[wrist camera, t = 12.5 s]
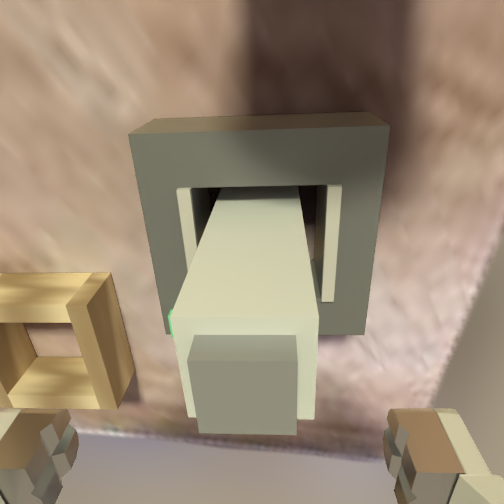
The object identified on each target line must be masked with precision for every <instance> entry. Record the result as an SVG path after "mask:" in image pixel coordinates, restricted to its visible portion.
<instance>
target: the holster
mask: <svg viewBox="0 0 504 504" xmlns="http://www.w3.org/2000/svg"><path fill="white" fill-rule="evenodd" d="M23 323H71V324H72V327H73V330H74V333H75V336H76V339H77V342H78V345H79V348H80V351H81V354H82V357H37V356H36V353H35V351H34V348H33V346H32V343H31V341H30V339H29V336H28V334H27V331H26V329H25V326H24V324H23ZM134 371H135V367H134V363H133V359H132V355H131V351H130V347H129V343H128V339H127V336H126V332H125V328H124V324H123V320H122V316H121V312H120V308H119V304H118V300H117V296H116V292H115V288H114V284H113V280H112V276H111V273H8V274H0V407H10V408H65V409H118V408H119V406H120V403H121V401H122V399H123V396H124V394H125V392H126V390H127V387H128V385H129V383H130V381H131V378H132V376H133V374H134Z"/></svg>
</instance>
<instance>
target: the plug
mask: <svg viewBox="0 0 504 504" xmlns="http://www.w3.org/2000/svg"><path fill="white" fill-rule="evenodd" d="M170 321H171V326H172V332H173V337H174V343H175V348H176V353H177V359H178V364H179V370H180V375H181V380H182V386H183V391H184V397H185V402H186V408H187V413H188V417H196V418H197V424H198V430H199V433H211V434H261V435H297V419H314V412H315V391H316V369H317V348H318V327H319V314H318V308H317V302H316V296H315V290H314V283H313V277H312V271H311V265H310V259H309V252H308V246H307V240H306V234H305V228H304V221H303V215H302V209H301V203H300V197H299V191H298V185H293V186H248V187H221V190H220V192H219V195H218V197H217V200H216V202H215V205H214V207H213V210H212V212H211V215H210V218H209V220H208V223H207V225H206V228H205V230H204V233H203V235H202V238H201V240H200V243H199V245H198V248H197V250H196V253H195V255H194V258H193V260H192V263H191V265H190V268H189V270H188V273H187V276H186V278H185V281H184V283H183V286H182V288H181V291H180V293H179V296H178V298H177V301H176V303H175V306H174V308H173V311H172V313H171V316H170Z"/></svg>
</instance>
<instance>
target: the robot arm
mask: <svg viewBox="0 0 504 504" xmlns="http://www.w3.org/2000/svg"><path fill="white" fill-rule="evenodd" d="M70 420H71V416H70V414H69V412H68V410H67V409H38V408H6V409H4V410H3V411H1V412H0V504H55V502H56V500H57V498H58V496H59V494H60V492H61V490H62V488H63V487H62V481H61V477H62V476H64V475H65V474H66V473H67V472H68V471H69V470H70V469H71V468H72V466H73V463H74V461H75V459H76V456H77V450H78V446H79V441H78V434H77V432H76V429H74V428H73V427H71V426H70V425H69V422H70ZM387 420H388V424H389V428H387V429H386V430H385V431H384V438H383V446H384V455H385V461H386V464H387V468H388V471H389V472H390V473H391V474H392V476H393V477H395V478H396V484H395V489H394V492H395V495H396V498H397V502H398V504H504V479H503V478H502V477H501V476H499V475H492V474H491V472H490V470H489V469H488V467H487V465H486V463H485V461H484V459H483V458H482V456H481V454H480V452H479V450H478V448H477V446H476V445H475V443H474V441H473V439H472V437H471V435H470V434H469V432H468V430H467V428H466V426H465V424H464V423H463V421H462V419H461V417H460V415H459V413H458V412H457V411H456V410H455V409H431V408H408V409H390V410H389V412H388V416H387Z"/></svg>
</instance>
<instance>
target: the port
mask: <svg viewBox="0 0 504 504" xmlns="http://www.w3.org/2000/svg"><path fill="white" fill-rule="evenodd" d="M390 127H391V125H389V124H387V123H386V122H384V121H383V120H381V119H380V118H378V117H377V116H375V115H374V114H372V113H371V112H369V111H366V112H338V113H309V114H281V115H253V116H224V117H196V118H167V119H154V120H152V121H150V122H149V123H147V124H145V125H143V126H142V127H140V128H138V129H136V130H135V131H133V132H131V133H129V134H128V136H129V141H130V147H131V152H132V157H133V163H134V168H135V173H136V178H137V184H138V189H139V194H140V199H141V205H142V210H143V215H144V220H145V226H146V231H147V236H148V241H149V247H150V252H151V257H152V263H153V268H154V273H155V278H156V284H157V289H158V294H159V299H160V305H161V310H162V315H163V320H164V326H165V331H166V334H171V337H173V332H172V326H171V321H170V316H171V313H172V311H173V308H174V306H175V303H176V301H177V298H178V296H179V293H180V291H181V288H182V286H183V283H184V281H185V278H186V276H187V273H188V270H189V268H190V265H191V263H192V260H193V258H194V255H195V253H196V250H197V248H198V245H199V243H200V240H201V238H202V235H203V233H204V230H205V228H206V225H207V223H208V220H209V218H210V215H211V212H210V202H209V192H208V187H248V186H293V185H317V196H316V221H315V245H314V260H310V265H311V271H312V277H313V283H314V290H315V296H316V302H317V308H318V314H319V327H318V335H364V333H365V325H366V317H367V309H368V301H369V293H370V285H371V277H372V269H373V262H374V254H375V246H376V238H377V230H378V222H379V214H380V206H381V198H382V190H383V182H384V174H385V166H386V159H387V151H388V143H389V135H390Z"/></svg>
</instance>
